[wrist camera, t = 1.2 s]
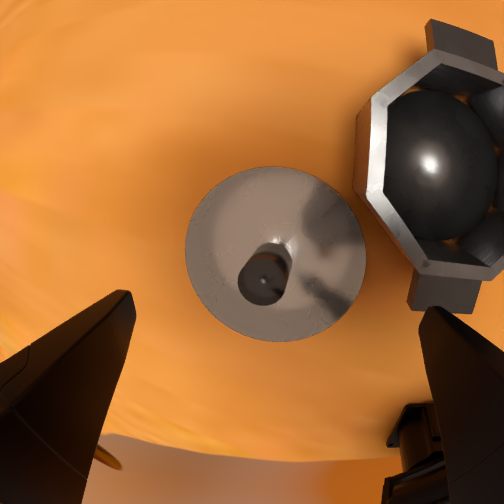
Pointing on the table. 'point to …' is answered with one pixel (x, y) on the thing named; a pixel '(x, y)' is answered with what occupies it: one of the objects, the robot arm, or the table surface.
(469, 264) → the pot
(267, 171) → the lid
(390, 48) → the table surface
